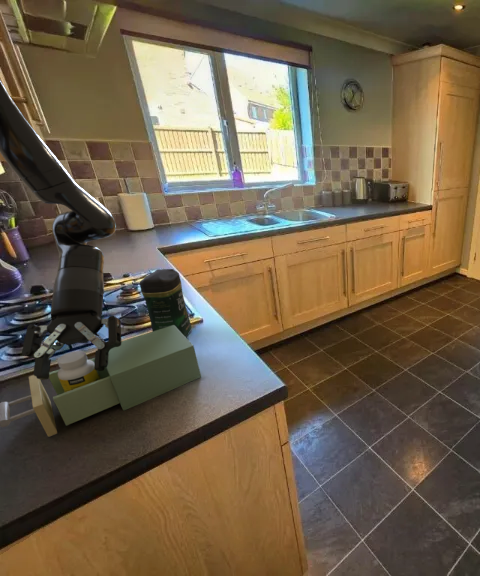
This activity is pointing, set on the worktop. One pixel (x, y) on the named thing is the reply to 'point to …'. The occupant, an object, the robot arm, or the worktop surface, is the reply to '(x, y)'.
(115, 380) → the cabinet
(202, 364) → the worktop surface
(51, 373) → the drawer
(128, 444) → the worktop surface
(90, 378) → the supplement bottle
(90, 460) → the worktop surface
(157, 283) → the coffee jar
